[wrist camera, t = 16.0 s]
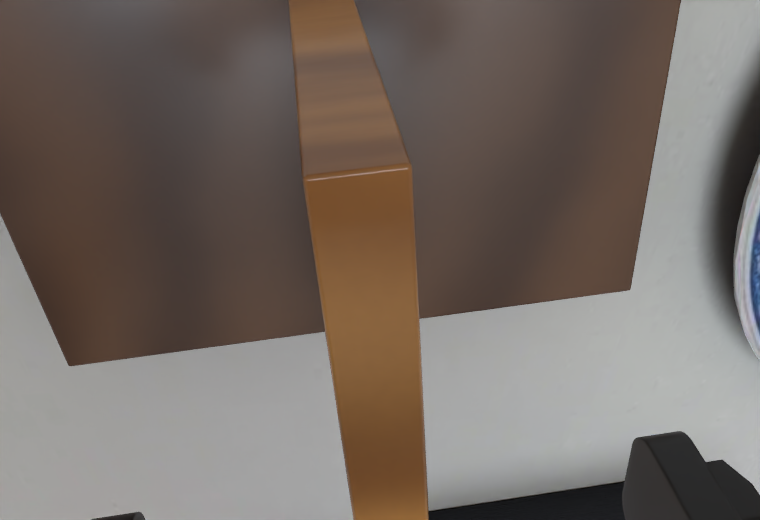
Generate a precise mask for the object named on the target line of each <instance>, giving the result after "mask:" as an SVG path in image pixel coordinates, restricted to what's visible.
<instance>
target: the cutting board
mask: <svg viewBox="0 0 760 520" xmlns="http://www.w3.org/2000/svg"><path fill="white" fill-rule="evenodd" d="M354 2H355V5H356V8H357V10H358V13H359V16H360V19H361V22H362V25H363V28H364V30H365V33H366V36H367V39H368V42H369V45H370V48H371V50H372V53H373V56H374V59H375V62H376V65H377V68H378V70H379V73H380V76H381V79H382V82H383V85H384V88H385V90H386V93H387V96H388V99H389V102H390V105H391V108H392V111H393V113H394V116H395V119H396V122H397V125H398V128H399V131H400V133H401V136H402V139H403V142H404V145H405V148H406V151H407V153H408V156H409V159H410V162H411V165H412V175H413V196H414V217H415V239H416V260H417V281H418V302H419V319H421V318H429V317H436V316H443V315H451V314H458V313H465V312H473V311H480V310H487V309H495V308H502V307H509V306H517V305H524V304H532V303H539V302H546V301H554V300H561V299H568V298H576V297H583V296H590V295H598V294H605V293H612V292H620V291H627V290H630V288H631V283H632V277H633V271H634V265H635V260H636V254H637V248H638V243H639V237H640V231H641V225H642V220H643V214H644V208H645V203H646V197H647V191H648V185H649V180H650V174H651V168H652V163H653V157H654V151H655V145H656V140H657V134H658V128H659V123H660V117H661V111H662V105H663V100H664V94H665V88H666V83H667V77H668V71H669V65H670V60H671V54H672V48H673V43H674V37H675V31H676V25H677V20H678V14H679V8H680V3H681V0H354ZM0 214H1V216H2V218H3V221H4V223H5V225H6V227H7V230H8V232H9V234H10V236H11V238H12V241H13V243H14V245H15V247H16V250H17V252H18V254H19V256H20V259H21V261H22V263H23V265H24V267H25V270H26V272H27V274H28V276H29V279H30V281H31V283H32V285H33V287H34V290H35V292H36V294H37V296H38V299H39V301H40V303H41V305H42V308H43V310H44V312H45V314H46V316H47V319H48V321H49V323H50V325H51V328H52V330H53V332H54V334H55V336H56V339H57V341H58V343H59V345H60V348H61V350H62V352H63V354H64V357H65V359H66V361H67V363H68V365H69V366H76V365H83V364H90V363H98V362H105V361H112V360H120V359H127V358H135V357H142V356H149V355H157V354H164V353H171V352H179V351H186V350H193V349H201V348H208V347H215V346H223V345H230V344H237V343H245V342H252V341H260V340H267V339H274V338H282V337H289V336H296V335H304V334H311V333H318V332H325V327H324V320H323V314H322V307H321V300H320V294H319V287H318V281H317V274H316V267H315V261H314V254H313V247H312V241H311V234H310V228H309V221H308V214H307V208H306V201H305V194H304V188H303V181H302V170H301V157H300V144H299V131H298V118H297V105H296V92H295V79H294V66H293V53H292V40H291V27H290V14H289V1H288V0H0Z"/></svg>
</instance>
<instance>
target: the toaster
mask: <svg viewBox="0 0 760 520" xmlns="http://www.w3.org/2000/svg"><path fill="white" fill-rule="evenodd" d="M623 487H624V482H623V483H616V484H610V485H603V486H597V487H590V488H584V489H577V490H571V491H564V492H558V493H551V494H545V495H538V496H531V497H525V498H518V499H512V500H505V501H499V502H492V503H486V504H479V505H473V506H466V507H460V508H453V509H447V510H440V511H434V512H428V514H429V520H625V516H624V511H623V505H622V492H623Z"/></svg>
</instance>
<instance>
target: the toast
mask: <svg viewBox="0 0 760 520" xmlns="http://www.w3.org/2000/svg"><path fill="white" fill-rule="evenodd" d="M288 1H289V14H290V27H291V40H292V53H293V66H294V79H295V92H296V105H297V118H298V131H299V144H300V157H301V170H302V181H303V188H304V194H305V201H306V208H307V214H308V221H309V228H310V234H311V241H312V247H313V254H314V261H315V267H316V274H317V281H318V287H319V294H320V300H321V307H322V314H323V320H324V327H325V334H326V340H327V347H328V353H329V360H330V367H331V373H332V380H333V387H334V393H335V400H336V406H337V413H338V420H339V426H340V433H341V440H342V446H343V453H344V459H345V466H346V473H347V479H348V486H349V492H350V499H351V506H352V512H353V519H354V520H429V514H428V493H427V471H426V450H425V429H424V408H423V387H422V366H421V344H420V323H419V302H418V281H417V260H416V239H415V217H414V196H413V175H412V165H411V162H410V159H409V156H408V153H407V151H406V148H405V145H404V142H403V139H402V136H401V133H400V131H399V128H398V125H397V122H396V119H395V116H394V113H393V111H392V108H391V105H390V102H389V99H388V96H387V93H386V90H385V88H384V85H383V82H382V79H381V76H380V73H379V70H378V68H377V65H376V62H375V59H374V56H373V53H372V50H371V48H370V45H369V42H368V39H367V36H366V33H365V30H364V28H363V25H362V22H361V19H360V16H359V13H358V10H357V8H356V5H355V2H354V0H288Z"/></svg>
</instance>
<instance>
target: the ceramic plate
mask: <svg viewBox="0 0 760 520" xmlns="http://www.w3.org/2000/svg"><path fill="white" fill-rule="evenodd" d="M734 297H735V301H736V305H737V309H738V313H739V317H740V321H741V325H742V329H743V331H744V333H745V336H746V338H747V340H748V342H749V344H750V346H751V349H752V350H753V352H754V354H755V355H756V356H757V358H758V359H759V360H760V155H759V157H758V159H757V162H756V165H755V168H754V171H753V173H752V176H751V179H750V182H749V185H748V188H747V191H746V194H745V197H744V201H743V206H742V210H741V214H740V218H739V222H738V226H737V234H736V241H735V249H734Z"/></svg>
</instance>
